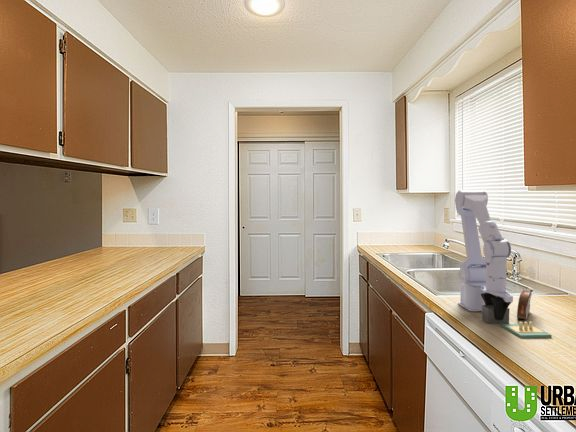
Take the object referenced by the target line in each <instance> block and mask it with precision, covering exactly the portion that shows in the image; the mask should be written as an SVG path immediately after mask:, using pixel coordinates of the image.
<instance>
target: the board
mask: <svg viewBox="0 0 576 432" xmlns="http://www.w3.org/2000/svg"><path fill="white" fill-rule="evenodd" d="M533 323H534V322H533V321H529V323H528V321H524V322H523V321H519V322H518V323H509V324H501V327H502V328H503V329H505V330H506V331H508V332H510V333H512V334H513V335H515V336H517V337H518V338H520V339H538V338H539V339H543V338H544V339H547V338H549V339H550V338H552V334H551V333H548V332H546V331H545V330H543V329H541V328H539V327H537V326H536V325H533Z"/></svg>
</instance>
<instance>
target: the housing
mask: <svg viewBox="0 0 576 432" xmlns="http://www.w3.org/2000/svg"><path fill="white" fill-rule="evenodd" d="M481 321H483V322H485V324H488V325H495V324H496V325H500V324H501V325H502V324H510V308H509V307H508V308H507V310H506V312H505V315H504V318H503V320H496V319H495V312H494V306H493V305H482V311H481Z"/></svg>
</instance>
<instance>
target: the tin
mask: <svg viewBox="0 0 576 432" xmlns="http://www.w3.org/2000/svg"><path fill="white" fill-rule="evenodd" d="M532 295H533V294H532V291H529V290H524V289H523V290H521V293H520V294H519V298H518V302H517V303H518V304H517V311H516V319H520V320H527V319H528V317H529V314H530V310H531V299H532Z"/></svg>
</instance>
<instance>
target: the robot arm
mask: <svg viewBox="0 0 576 432" xmlns="http://www.w3.org/2000/svg"><path fill="white" fill-rule="evenodd" d="M454 197H455V198H454V202H455V203H454V205H455V211H456V213H457V214H458V215H460V218H461V226H462V233H463V240H464V247H465V254H466V255H465V256H466V258H464V260H463V261H462V262H460V265H459V277H460V281H461V282H462V284H461V286H460V298H459V299H460V301H459V302H457V304H458V305H459V306H461V307H463V308H464V309H466V310H467V311H469V312H482V305H493V306H494V312H495V319H496V320H503V318H504V315H505V312H506V310H507V308H509V306H510V305H511V304H512V303H513V302H514V296H513V295H511V294H510V292H508V291H507V271H508V270H507V267H508V266H507V265H508V263H507V262H508V258H509V257H510V256H511V253H512V246H511V243H510V241H509V240H508V239H506V238H505V237H503V236H502V234H501V231H500V229H499V226H498V225H497V223H496V222H494V221H492V219H491V217H490V213H489V210H488V206H487V205H488V201H489V195H488V193H487V191H486V190H485V189H481V190H480V189H479V190H478V189H477V190H475V189H474V190H472V189H471V190H460V189H459V190H458V191H456V193H455V196H454ZM477 222H478V223H479V225H478V223H477ZM479 234H480V236H481V239H482V243H483V247H482V248H481V245H480V237H479ZM481 249H482V251H483V255H484V258H483V256H482V251H481Z"/></svg>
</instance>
